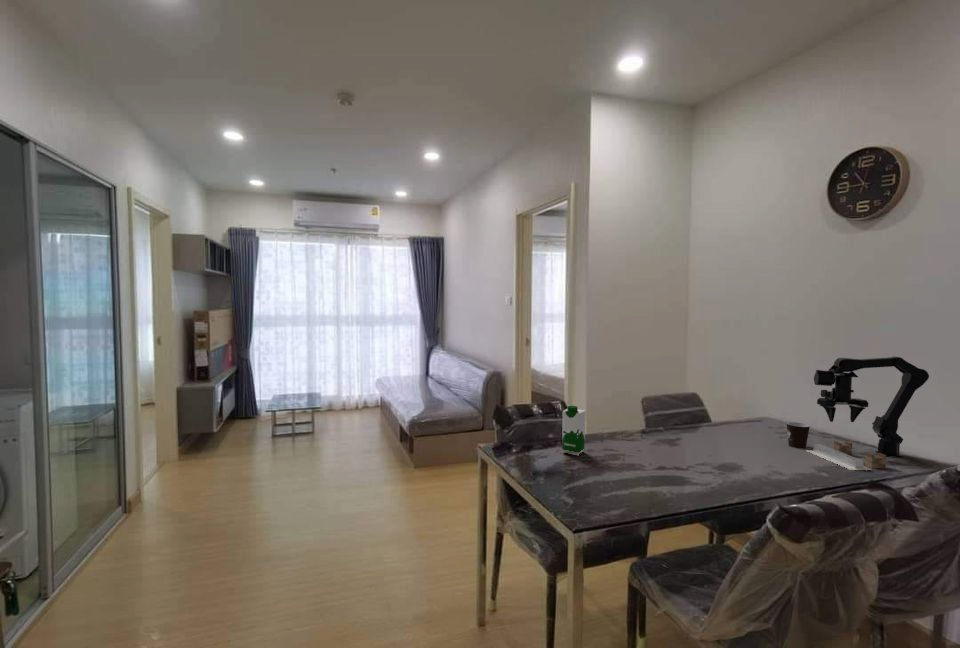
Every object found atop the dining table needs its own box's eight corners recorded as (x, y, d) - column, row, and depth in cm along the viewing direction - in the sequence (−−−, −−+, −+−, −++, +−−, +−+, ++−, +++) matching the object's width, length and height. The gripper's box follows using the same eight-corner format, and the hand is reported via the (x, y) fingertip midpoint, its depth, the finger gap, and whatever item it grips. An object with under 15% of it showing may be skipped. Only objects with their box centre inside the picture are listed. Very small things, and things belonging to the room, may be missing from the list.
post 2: (878, 465, 181) (879, 452, 181) (885, 468, 178) (886, 455, 178) (865, 465, 181) (865, 452, 181) (871, 468, 178) (872, 455, 178)
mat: (823, 451, 200) (823, 450, 200) (871, 470, 176) (871, 469, 176) (805, 451, 200) (805, 450, 200) (850, 470, 176) (850, 469, 176)
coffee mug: (808, 450, 200) (809, 427, 200) (785, 446, 206) (785, 424, 205) (809, 444, 210) (810, 422, 209) (786, 441, 215) (787, 419, 215)
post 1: (846, 453, 197) (846, 441, 197) (851, 455, 194) (852, 443, 194) (833, 453, 197) (833, 441, 197) (839, 455, 194) (839, 443, 194)
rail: (820, 450, 199) (820, 444, 199) (863, 468, 177) (863, 460, 177) (813, 450, 199) (813, 444, 199) (855, 468, 177) (855, 460, 177)
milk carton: (559, 453, 191) (560, 406, 190) (567, 448, 199) (568, 402, 198) (579, 457, 186) (580, 409, 186) (587, 452, 194) (588, 405, 193)
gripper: (849, 383, 209) (847, 417, 210) (808, 383, 209) (807, 417, 209) (870, 388, 198) (868, 423, 198) (827, 387, 198) (826, 423, 198)
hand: (841, 421), depth 201 cm, fingers open, 9 cm apart
